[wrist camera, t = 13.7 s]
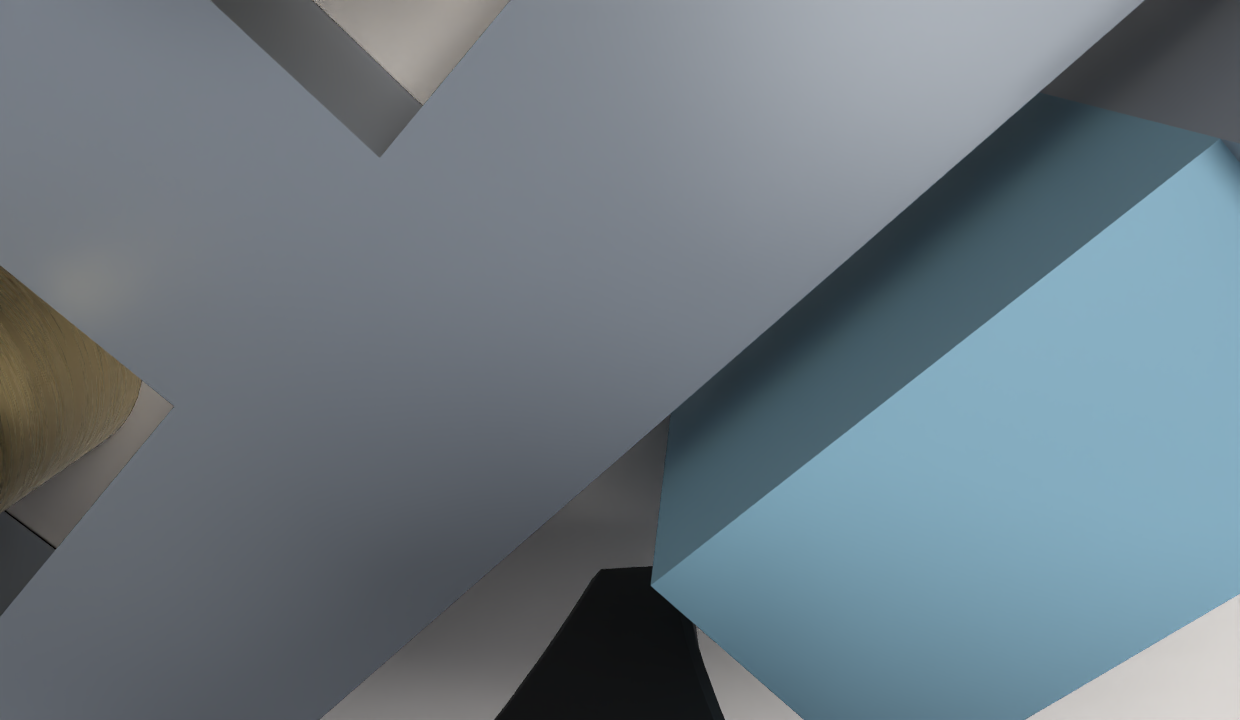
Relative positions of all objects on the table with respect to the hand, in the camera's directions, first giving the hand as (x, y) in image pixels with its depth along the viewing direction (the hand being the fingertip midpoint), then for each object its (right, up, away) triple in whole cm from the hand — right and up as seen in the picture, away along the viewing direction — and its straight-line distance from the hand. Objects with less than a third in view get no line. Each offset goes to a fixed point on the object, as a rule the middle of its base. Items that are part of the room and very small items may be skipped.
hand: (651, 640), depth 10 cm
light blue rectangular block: (+3, +3, 0) cm, 4 cm away
